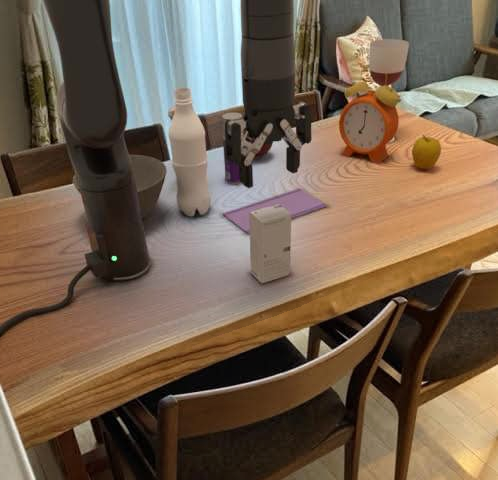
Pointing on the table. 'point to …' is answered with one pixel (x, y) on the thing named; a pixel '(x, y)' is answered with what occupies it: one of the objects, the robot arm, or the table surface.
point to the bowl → (145, 180)
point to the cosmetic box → (270, 243)
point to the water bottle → (189, 155)
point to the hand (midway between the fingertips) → (270, 178)
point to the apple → (426, 152)
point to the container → (230, 168)
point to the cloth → (291, 201)
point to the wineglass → (387, 60)
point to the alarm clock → (369, 120)
